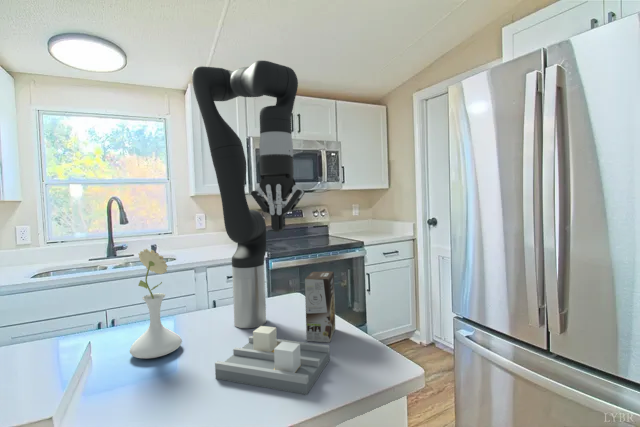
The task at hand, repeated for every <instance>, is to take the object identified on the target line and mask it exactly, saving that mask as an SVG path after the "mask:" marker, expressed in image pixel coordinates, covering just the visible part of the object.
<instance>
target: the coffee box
mask: <svg viewBox="0 0 640 427" xmlns="http://www.w3.org/2000/svg"><path fill="white" fill-rule="evenodd" d="M304 291H305V292H304V295H305V331H306V333H305V334H306V335H305V336H306V337H305V340H306V342H318V343H319V342H320V343H330V342H331V340H332V338H333V336H334V333H335V331H336V305H335V304H336V303H335V302H336V300H335V297H336V296H335V272H334V271H312V272H311V273H309V274H308V275H307V276H306V277H305V278H304Z"/></svg>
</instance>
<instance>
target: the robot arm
mask: <svg viewBox="0 0 640 427" xmlns="http://www.w3.org/2000/svg"><path fill="white" fill-rule="evenodd" d="M298 81H299V80H298V77H297V74H296V71H294V69H293V68H291V67H289V66H286V65H282V64H278V63H275V62H272V61H269V60H256V61H255V62H253V63H252V64H251V65H250V66H244V67H239V68H238V69H235V70H234V71H233V70H229V69H225V68H223V67H214V66H203V65H199V66H196V67H194V69H193V71H192V73H191V82H192V88H193V92H194V93H193V94H194V96H195V99H196V102H197V104H198V105H197V106H198V108H199V111H200V114H201V118H202V121H203V125H204V128H205V133H206V137H207V142H208V146H209V152H210V156H211V160H212V164H213V168H214V171H215V174H216V175H215V176H216V180H217V187H218V189H219V190H218V191H219V194H220V198H221V200H220V201H221V205H222V214H223V223H224V229H225V232H226V234H227V236H228V238H229V239H230V240H231V241H232V242H234V243H235V244H237V247H236V251H235V252H234V253H233V255H232V257H231V274H232V275H231V276H232V278H231V279H232V295H233V296H232V298H233V320H234V321H233V323H234V326H235V327H237V328H240V329H253V328H259V327H260V326H264V325H265V324H266V323H267V304H266V301H267V299H266V278H265V256H266V254H267V224H266V220H265V218H264V216H263V215H262V214H261V213H260V212H259V211H258V210H255V209H250V208H249V205H248V201H247V196H246V189H245V185H246V177H247V159H246V158H247V157H246V154H245V151H244V147H243V146H244V145H243V141H242V140H241V138H240V137H239V136H238V134H237V133H236V131H234V129H233V128H232V127H231V126H230V125H229V124H228V123H227V122H226V121H225V119H224V118H223V117H222V116H221V113H219V110H218V108H217V106H216V102H227V101H230V100H233V99H235V98H238V97H242V98H260V97H263V96H266V97H271V98H275V99H276V102H275V104H274V105H267V106H263V107H262V108H261V109H260V111H259V145H258V146H259V147H258V148H259V149H258V150H259V152H258V153H259V175H260V181H259V186H258V187H257V188H256V189H255V190H252V191H251V192H250V195H251V197H252V199H254V201H255V202H256V203H257V204H258V206H259V208H260V209H261V211H262V212H263V213H267V214H269V215H270V220H271V221H270V223H271V225H270V227H271V230H273V232H275V233H279V232H280V233H281V232H284V230H285V229H286V215H287V214H288V213H291V212H293V211H294V209H295V208H296V207H297V205H298V204H299V202H300V201H301V199H302V198H303V197H304V195H305V190H304V189H301V188H300V187H298V186H297V185H296V181H295V179H294V176H295V174H294V144H293V135H292V114H293V110H294V104H295V102H296V101H295V100H296V97H297V93H298V88H299V82H298ZM290 196H291V197H290ZM265 197H266V198H267V199H266V198H265ZM289 197H290V199H289V200H288V198H289Z"/></svg>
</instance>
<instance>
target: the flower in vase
mask: <svg viewBox="0 0 640 427" xmlns="http://www.w3.org/2000/svg"><path fill="white" fill-rule="evenodd" d="M138 258H139V261H140V263H142V265H143V266H144V267H145V268H146V269H147V271H146V274H145V281H144V280H142V279H141V280H139V282H138V287H142V288H144V289H146V290H147V289H148V291H149V293H150V294H146V295H144V296H142V300H143V301H144V302H145V303H146V305H147V309H148V313H149V325H148V328H147V329H146V330H145V331H144V332H143V333H142V334H141V335H140V336H139V337H138V338H137V339H135V341H134V342H133V343H132V344H131V346H130V347H129V348H130V349H129V353H130V355H131V356H133V357H134V358H137V359H156V358H159V357H163V356H166V355H168V354H171V353H172V352H174V351H176V350H178V348H180V346H181V345H182V342H183V339H182V337H181V336H180V335H179V334H178V333H176V332H174V331H172V330H170V329H169V328H167V327H165V326H164V325H163V324H162V321H161V320H162V319H161V307H162V303H163V300H164V298H165V297H166V293H161V292H159V293H158V292H157V293H156V292H155V293H153V292H152V291H153V290H154V289H155V290H156V288H158V287H159V286H161V285H162V284H163V282H162V281H161V282H160V283H159V284H157V285H155V286H153V287H152V288H150V286H149V284H148V275H149V271H150V272H152V273H154V274H157V275H158V274H160V275H162V274H165V273H167V272H168V270H167V269H168V267H169V266H168V265H167V261H166V260H164V256H162V255H160V254H159V253H158V252H156V251H155V250H153V249H151V250H149V249H147V248H144V249H143V250H142V251H141V250H140V251H139V253H138Z"/></svg>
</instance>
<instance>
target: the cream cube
mask: <svg viewBox="0 0 640 427" xmlns="http://www.w3.org/2000/svg"><path fill="white" fill-rule="evenodd" d="M252 336H253V348H254V350H259V351H266V352H272V351H273V350H274V349H275V348H276V347H277V339H278V338H277V336H278V334H277V327H274V326H265V325H261V326H258V327H256V329H255V330H253V331H252Z"/></svg>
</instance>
